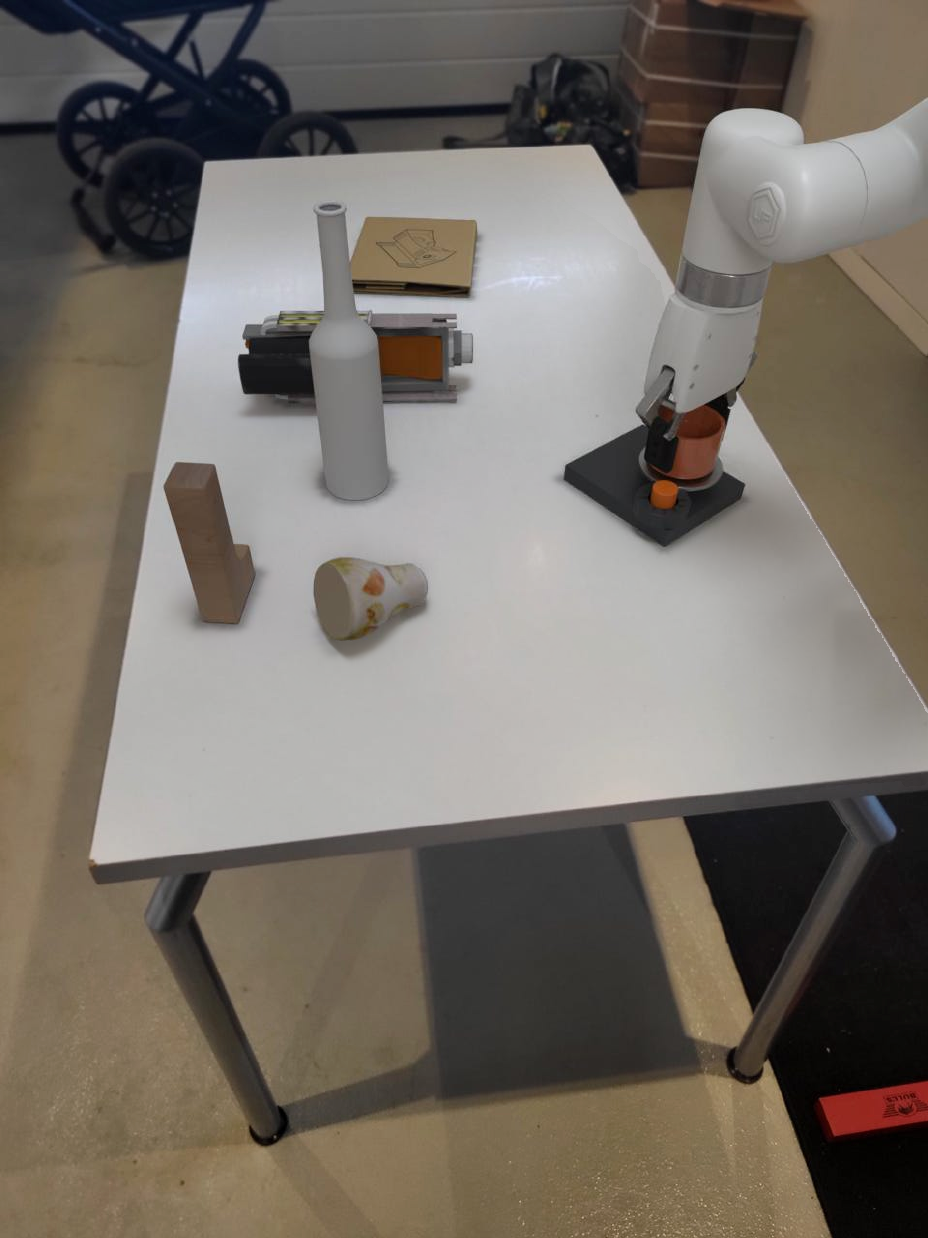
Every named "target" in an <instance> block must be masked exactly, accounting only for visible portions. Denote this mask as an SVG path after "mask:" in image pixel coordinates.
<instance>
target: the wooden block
mask: <svg viewBox="0 0 928 1238" xmlns="http://www.w3.org/2000/svg"><path fill="white" fill-rule="evenodd" d="M162 488H163V490H164V494H165V497H166V501H167V504H168V508H169V511H170V513H171V517H172V522H173V524H174V525H173V526H174V528H175V531H176V534H177V538H178V542H179V545H180V548H181V552H182V555H183V558H184V563H185V565H186V569H187V572H188V575H189V580H190V582H191V586H192V589H193V592H194V597H195V599H196V603H197V606H198V609H199V614H200V616H201V620H202V621H203V622H208V623H211V622H212V623H222V624H223V623H225V624H238V623H239V622H240V618H241V616H242V613H243V611H244V608H245V605H246V602H247V599H248V596H249V593H250V590H251V587H252V585H253V583H254V579H255V576H256V571H255V566H254V561H253V557H252V553H251V548H250V545H249V544H244V543H242V544H241V543H234V539H233V535H232V531H231V526H230V523H229V518H228V514H227V510H226V504H225V501H224V497H223V493H222V488H221V484H220V479H219V476H218V471H217V467H216V464H215V463H204V462H203V463H202V462H185V461H176V462H174V464H173V466H172V468H171V470H170V472H169V474H168V476H167V478H166V480H165V481H164V484H163V487H162Z"/></svg>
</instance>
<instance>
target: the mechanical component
mask: <svg viewBox="0 0 928 1238" xmlns="http://www.w3.org/2000/svg"><path fill="white" fill-rule="evenodd" d="M357 313H358V315H359V316H360V317H361V318H362V319H363V320H364V321H365V322H366V323H367V324H368V325H369V326H370V327H371V328H372V329H373V331H374V332H375V334H376V335H377V340H378V348H379V361H380V373H381V386H382V399H383V402H389V401H390V402H393V401H394V402H403V401H405V402H407V401H408V402H409V401H411V402H412V401H413V402H415V401H416V402H419V401H421V402H423V401H424V402H426V401H427V402H429V401H431V402H432V401H458V394H457V393H454V394H453V393H452V394H451V393H448V394H442V393H439V394H437V393H436V394H435V392H457V390H458V387H457V385H456V384H451V385H450V368H455V367H462V364H473V362H474V335H473V333H472V332H463V331H462V330H458V322H457V321H454V322H449V321H447V320H458V314H457V313H433V312H432V313H426V312H425V313H419V312H418V313H414V312H413V313H411V312H410V313H373V310H372V309H369V310H357ZM323 316H324V310H280V311H279V314H273V315H268V316H266V317H265V318H264V319H263V322H262V323H260V324H259V323H246V324H245V326H244V330H243V332H242V335H241V337H242V340H244V341H245V342H244V345H245V349H247V350H248V353H238V356H237V370H238V375H239V380H240V386H241V390H242V393H243V394H244V395H272V396H273V397H275V398H276V399H280V400H287V402H288V404H316V399H315V391H314V382H313V374H312V365H311V357H310V349H309V339H310V337H311V335H312V333H313V331H314V329H315V328H316V326H317V325H318V324H319V323H320V321H321V320H322V318H323ZM455 329H457V330H455Z"/></svg>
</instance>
